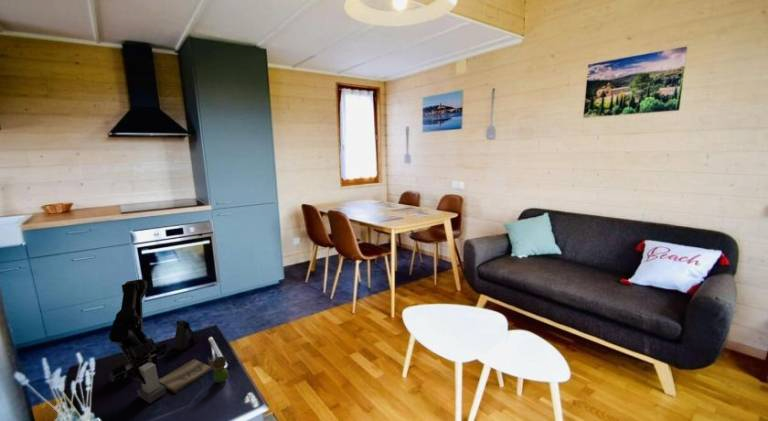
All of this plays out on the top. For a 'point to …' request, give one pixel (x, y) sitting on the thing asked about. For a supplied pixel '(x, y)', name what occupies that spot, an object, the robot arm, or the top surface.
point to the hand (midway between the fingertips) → (151, 380)
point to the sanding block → (150, 383)
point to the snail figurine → (219, 369)
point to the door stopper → (180, 336)
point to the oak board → (184, 375)
